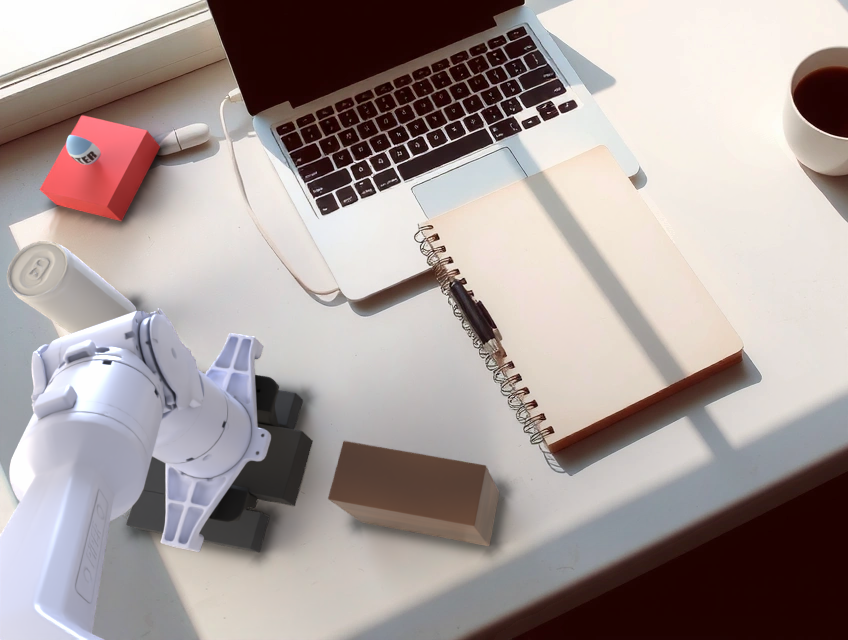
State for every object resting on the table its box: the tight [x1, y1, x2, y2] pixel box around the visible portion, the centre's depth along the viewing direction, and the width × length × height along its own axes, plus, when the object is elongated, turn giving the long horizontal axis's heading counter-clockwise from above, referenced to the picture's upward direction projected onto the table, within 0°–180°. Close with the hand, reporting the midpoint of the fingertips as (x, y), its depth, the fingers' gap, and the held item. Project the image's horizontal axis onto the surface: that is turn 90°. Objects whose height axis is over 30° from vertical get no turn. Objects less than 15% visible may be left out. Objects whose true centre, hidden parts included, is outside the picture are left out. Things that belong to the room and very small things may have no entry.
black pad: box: [232, 423, 314, 507], centre depth 69 cm, size 5×8×3 cm, turn 79°
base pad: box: [125, 389, 304, 553], centre depth 72 cm, size 12×10×2 cm
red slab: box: [39, 114, 161, 222], centre depth 82 cm, size 8×7×6 cm
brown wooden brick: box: [327, 440, 500, 547], centre depth 66 cm, size 4×10×10 cm, turn 79°
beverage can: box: [6, 240, 138, 334], centre depth 73 cm, size 5×5×12 cm
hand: (255, 464), depth 71 cm, fingers closed on black pad, 5 cm apart
